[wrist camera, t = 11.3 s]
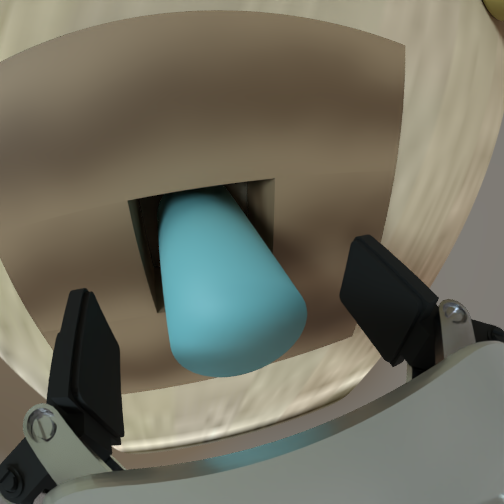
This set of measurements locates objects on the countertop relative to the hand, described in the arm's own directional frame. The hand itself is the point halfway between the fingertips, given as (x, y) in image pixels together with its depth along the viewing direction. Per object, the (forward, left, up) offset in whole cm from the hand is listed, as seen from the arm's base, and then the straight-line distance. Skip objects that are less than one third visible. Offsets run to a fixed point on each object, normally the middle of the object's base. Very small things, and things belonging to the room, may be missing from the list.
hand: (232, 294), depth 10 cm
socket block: (0, 0, -7) cm, 7 cm away
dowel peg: (0, 0, -7) cm, 7 cm away
